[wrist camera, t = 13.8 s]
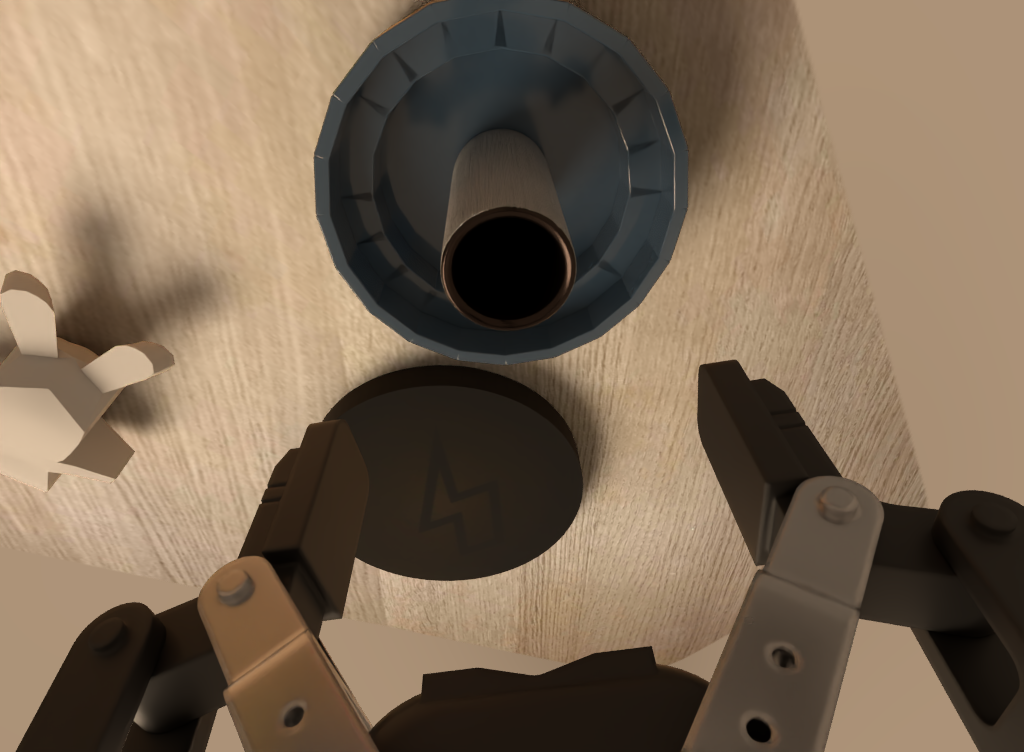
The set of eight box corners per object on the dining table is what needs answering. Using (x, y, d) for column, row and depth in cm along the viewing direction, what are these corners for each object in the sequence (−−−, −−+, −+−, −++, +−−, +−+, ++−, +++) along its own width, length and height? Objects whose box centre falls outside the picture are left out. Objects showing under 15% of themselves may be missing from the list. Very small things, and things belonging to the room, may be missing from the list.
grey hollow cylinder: (436, 151, 27) (415, 239, 19) (528, 110, 26) (549, 183, 18) (477, 238, 30) (474, 350, 21) (562, 203, 29) (594, 305, 20)
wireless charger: (470, 312, 33) (469, 330, 31) (626, 490, 41) (632, 512, 40) (252, 456, 38) (242, 479, 37) (431, 586, 47) (429, 609, 45)
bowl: (288, 24, 24) (249, 39, 20) (655, -48, 24) (691, -49, 19) (391, 333, 33) (378, 385, 29) (661, 289, 32) (686, 337, 28)
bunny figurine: (-105, 462, 32) (-60, 288, 24) (-35, 398, 36) (22, 230, 28) (78, 533, 36) (166, 402, 28) (123, 469, 40) (212, 338, 32)
